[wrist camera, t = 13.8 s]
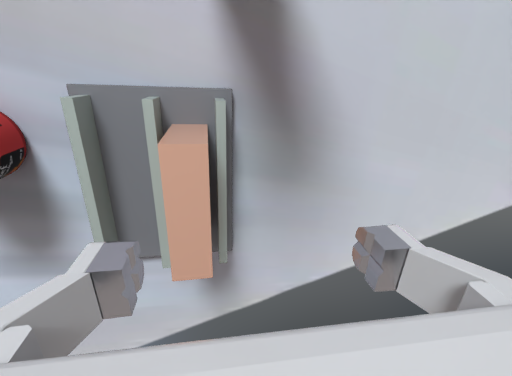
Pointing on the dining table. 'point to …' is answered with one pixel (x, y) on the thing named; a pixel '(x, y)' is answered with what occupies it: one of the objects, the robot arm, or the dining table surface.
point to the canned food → (10, 146)
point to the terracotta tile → (187, 200)
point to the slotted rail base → (145, 158)
